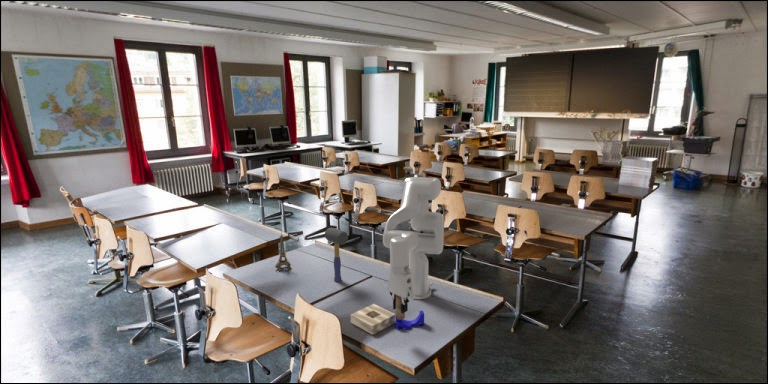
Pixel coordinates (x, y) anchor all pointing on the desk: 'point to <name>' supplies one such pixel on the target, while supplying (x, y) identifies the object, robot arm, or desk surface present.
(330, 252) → the desk surface
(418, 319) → the blue u-shaped cradle
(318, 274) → the desk surface
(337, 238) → the rubber mallet
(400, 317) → the peg
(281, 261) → the eiffel tower
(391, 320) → the board
